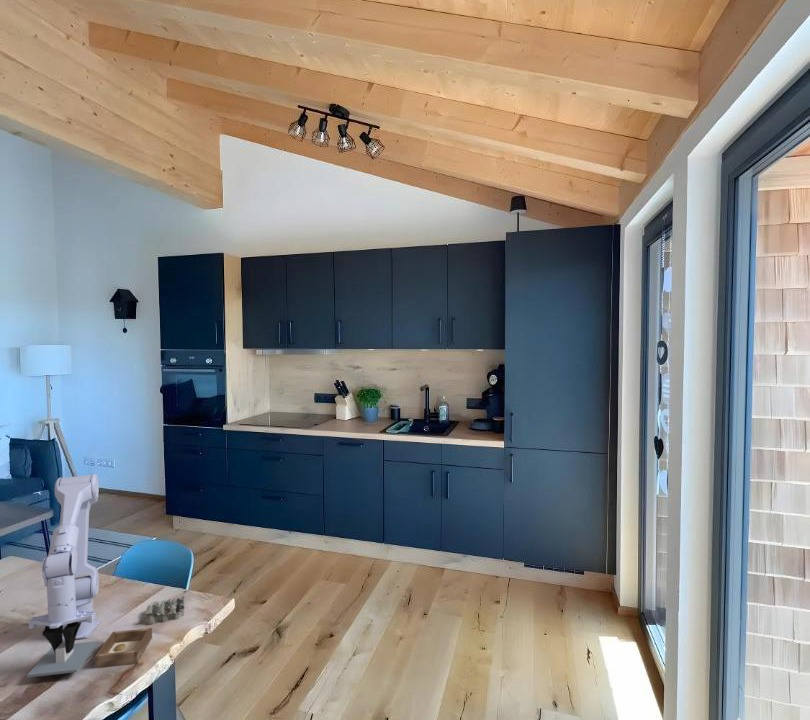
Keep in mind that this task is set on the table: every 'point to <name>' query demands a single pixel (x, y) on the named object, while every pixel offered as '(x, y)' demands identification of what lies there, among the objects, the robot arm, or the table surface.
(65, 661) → the lid
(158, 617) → the egg carton
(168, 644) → the table surface
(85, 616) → the robot arm
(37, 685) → the table surface
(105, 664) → the box
